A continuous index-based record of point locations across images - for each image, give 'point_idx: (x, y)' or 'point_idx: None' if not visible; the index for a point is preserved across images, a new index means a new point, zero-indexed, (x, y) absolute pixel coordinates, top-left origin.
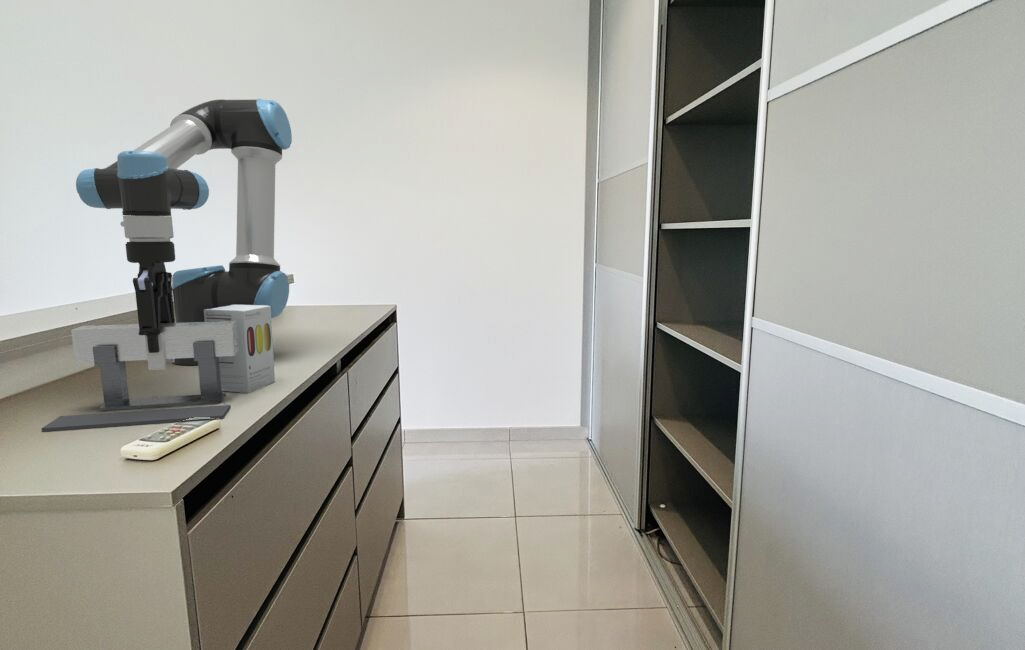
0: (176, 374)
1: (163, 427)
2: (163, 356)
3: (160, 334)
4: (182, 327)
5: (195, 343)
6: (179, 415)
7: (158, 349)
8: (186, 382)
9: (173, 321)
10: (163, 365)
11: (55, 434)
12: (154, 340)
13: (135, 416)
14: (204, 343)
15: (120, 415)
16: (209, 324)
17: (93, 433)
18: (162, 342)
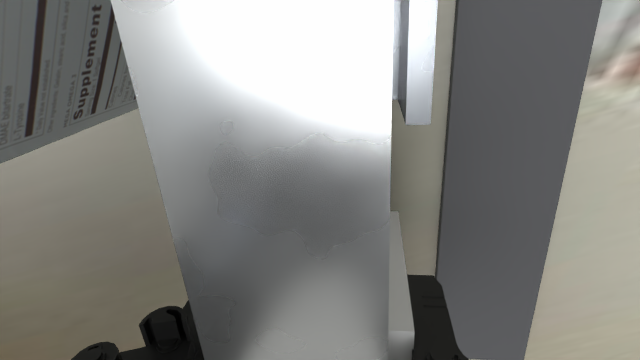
0: (30, 230)
1: (620, 103)
2: (402, 244)
3: (412, 337)
4: (388, 247)
5: (429, 105)
6: (546, 81)
7: (418, 283)
8: (112, 180)
9: (106, 353)
10: (399, 223)
11: (553, 328)
12: (452, 333)
13: (500, 206)
14: (432, 40)
15: (476, 244)
16: (327, 20)
17: (586, 261)
18: (407, 292)
